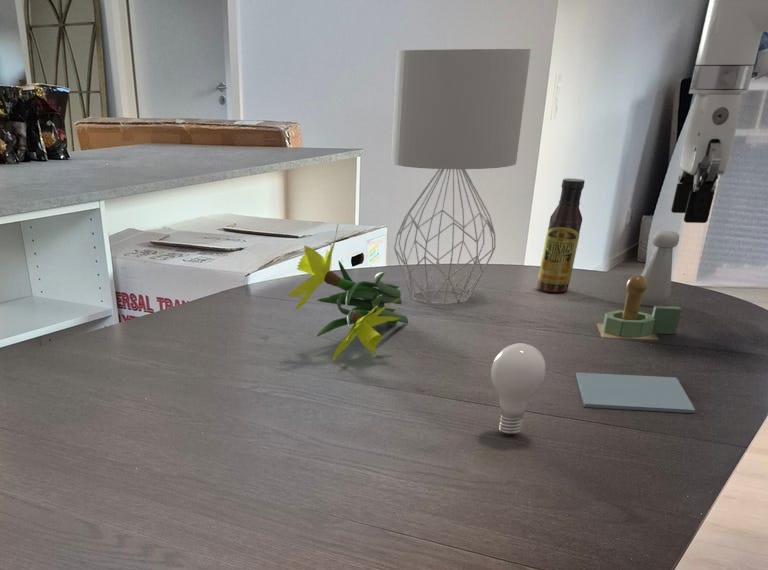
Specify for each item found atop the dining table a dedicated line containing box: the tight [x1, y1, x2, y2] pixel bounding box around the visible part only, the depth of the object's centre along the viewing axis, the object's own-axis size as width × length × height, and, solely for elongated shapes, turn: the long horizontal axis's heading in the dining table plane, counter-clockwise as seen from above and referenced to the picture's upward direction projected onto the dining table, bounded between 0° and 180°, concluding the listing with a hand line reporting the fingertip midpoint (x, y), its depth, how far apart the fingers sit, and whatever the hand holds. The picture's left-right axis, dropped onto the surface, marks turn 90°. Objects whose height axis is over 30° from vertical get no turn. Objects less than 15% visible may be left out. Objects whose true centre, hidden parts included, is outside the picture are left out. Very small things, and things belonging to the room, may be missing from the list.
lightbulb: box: [490, 342, 547, 437], centre depth 102 cm, size 6×6×11 cm
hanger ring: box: [602, 305, 682, 337], centre depth 140 cm, size 11×8×4 cm, turn 79°
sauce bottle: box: [536, 177, 585, 294], centre depth 165 cm, size 6×6×20 cm
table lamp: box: [390, 48, 532, 305], centre depth 155 cm, size 22×22×40 cm
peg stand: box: [596, 274, 660, 341], centre depth 140 cm, size 9×9×10 cm
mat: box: [575, 372, 696, 414], centre depth 118 cm, size 14×14×1 cm
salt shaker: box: [640, 230, 680, 308], centre depth 155 cm, size 6×6×13 cm
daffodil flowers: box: [287, 223, 409, 362], centre depth 135 cm, size 17×15×35 cm
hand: (688, 217), depth 127 cm, fingers open, 9 cm apart
